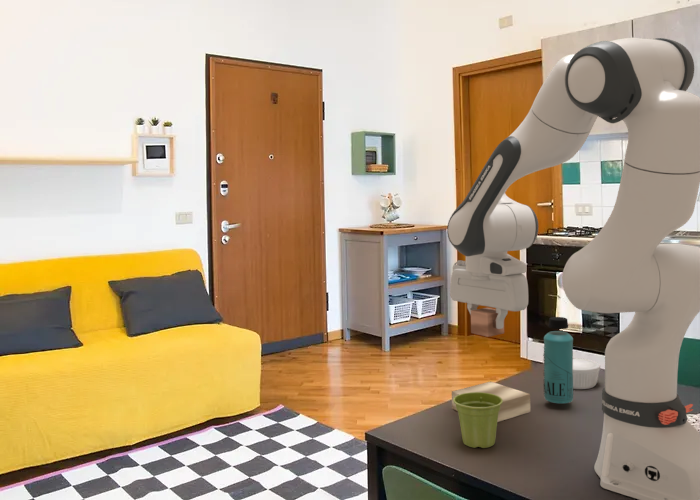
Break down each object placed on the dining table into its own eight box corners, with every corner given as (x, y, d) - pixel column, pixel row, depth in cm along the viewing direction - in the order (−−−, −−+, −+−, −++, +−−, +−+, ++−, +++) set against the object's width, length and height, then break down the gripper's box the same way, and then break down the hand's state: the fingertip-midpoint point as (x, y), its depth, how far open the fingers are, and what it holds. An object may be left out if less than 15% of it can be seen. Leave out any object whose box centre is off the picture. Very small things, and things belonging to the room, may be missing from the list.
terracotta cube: (487, 336, 138) (487, 313, 138) (471, 333, 142) (470, 310, 142) (504, 333, 141) (503, 310, 140) (487, 329, 145) (487, 307, 144)
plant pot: (443, 441, 127) (443, 398, 126) (477, 430, 132) (476, 388, 131) (480, 456, 119) (479, 411, 118) (513, 443, 125) (513, 399, 124)
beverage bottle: (570, 400, 148) (569, 314, 146) (577, 410, 141) (577, 320, 140) (540, 400, 149) (540, 314, 147) (546, 410, 142) (546, 320, 140)
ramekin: (543, 380, 164) (543, 360, 164) (582, 375, 167) (582, 355, 167) (568, 393, 154) (568, 371, 153) (609, 388, 156) (609, 367, 156)
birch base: (530, 411, 142) (530, 394, 141) (490, 424, 135) (490, 405, 135) (490, 398, 152) (490, 381, 151) (451, 408, 145) (451, 391, 145)
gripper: (442, 260, 147) (444, 320, 148) (511, 268, 130) (512, 335, 131) (463, 258, 150) (464, 317, 152) (533, 265, 133) (533, 331, 135)
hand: (487, 325), depth 141 cm, fingers closed on terracotta cube, 5 cm apart
